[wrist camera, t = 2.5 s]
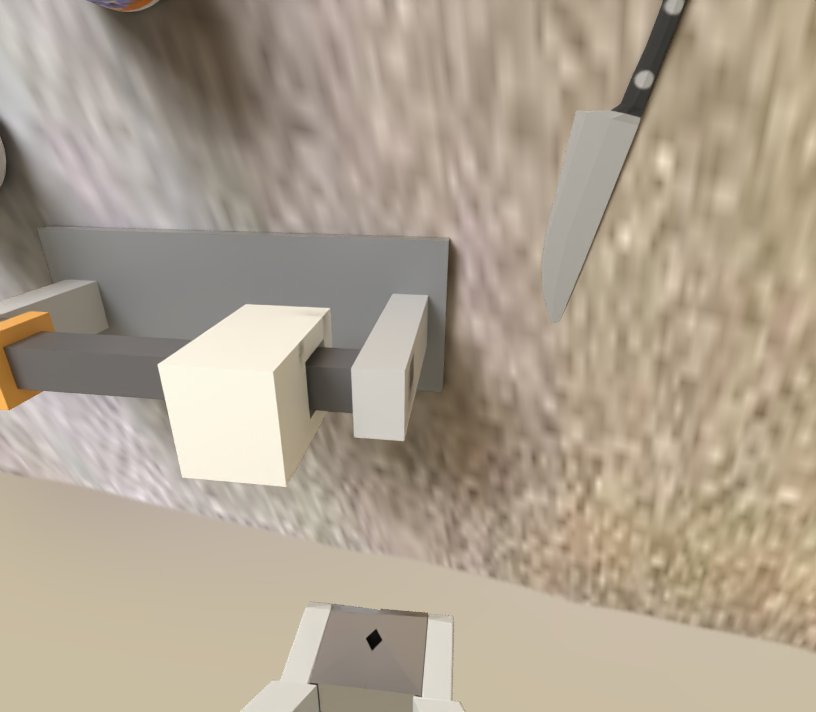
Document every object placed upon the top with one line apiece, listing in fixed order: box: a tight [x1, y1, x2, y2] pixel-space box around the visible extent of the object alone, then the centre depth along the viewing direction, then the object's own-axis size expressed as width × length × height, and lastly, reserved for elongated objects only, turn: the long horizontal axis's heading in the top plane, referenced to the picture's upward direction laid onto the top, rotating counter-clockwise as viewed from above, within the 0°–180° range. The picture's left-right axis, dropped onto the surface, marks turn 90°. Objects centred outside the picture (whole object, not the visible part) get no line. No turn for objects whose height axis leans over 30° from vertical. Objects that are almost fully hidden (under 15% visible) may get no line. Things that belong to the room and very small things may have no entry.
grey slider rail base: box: [0, 226, 449, 441], centre depth 24 cm, size 24×9×11 cm, turn 90°
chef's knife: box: [542, 0, 687, 324], centre depth 24 cm, size 19×1×3 cm
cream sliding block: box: [158, 304, 333, 487], centre depth 20 cm, size 4×5×7 cm
